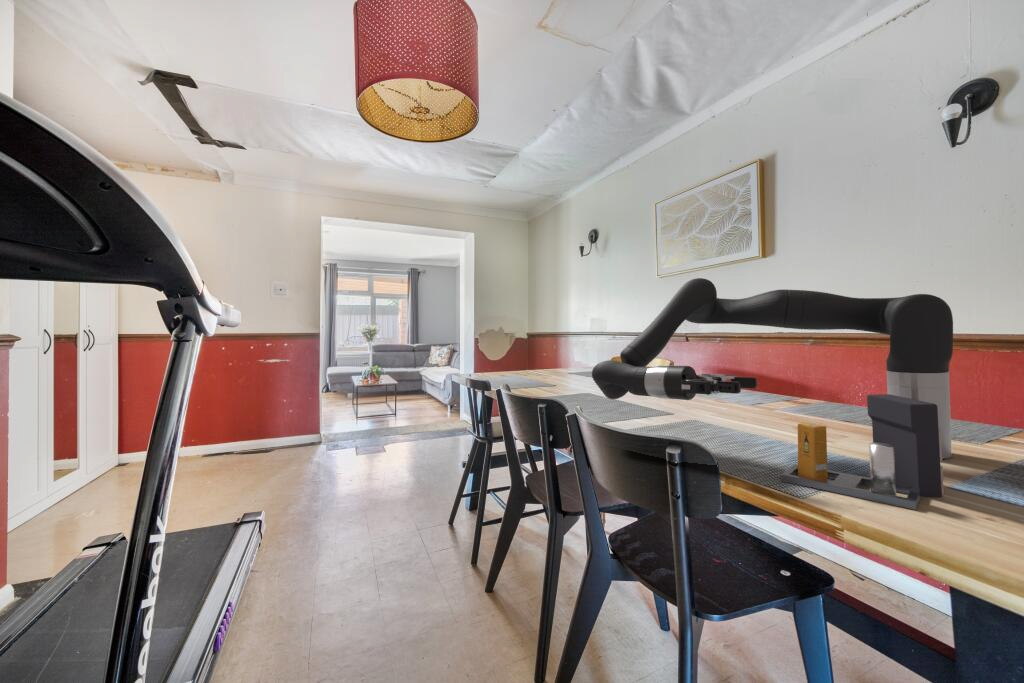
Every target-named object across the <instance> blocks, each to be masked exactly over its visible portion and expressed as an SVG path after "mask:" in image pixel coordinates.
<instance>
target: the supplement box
mask: <svg viewBox="0 0 1024 683" xmlns="http://www.w3.org/2000/svg"><path fill="white" fill-rule="evenodd" d="M796 427H797V465H798V475H797V476H800V477H805V478H810V479H815V480H820V481H825V482H829V481H828V475H827V470H828V450H827V448H828V446H827V444H828V442H827V441H828V440H827V426H826V425H822V424H816V423H810V422H809V423H808V422H802V423H797V426H796Z"/></svg>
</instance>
